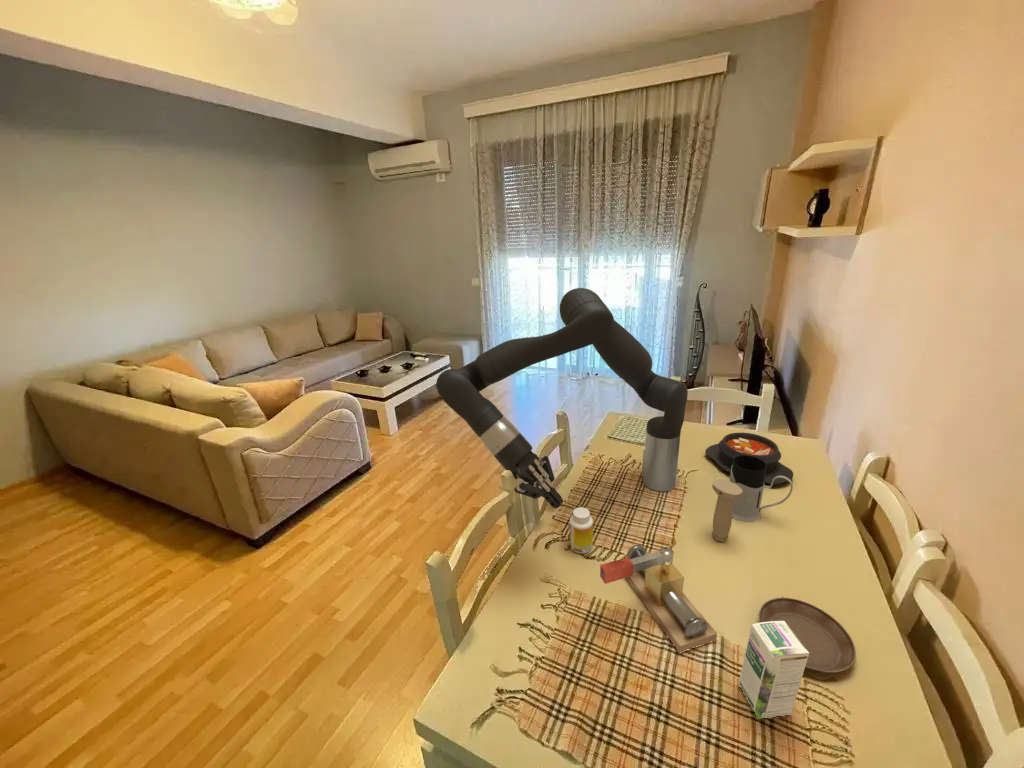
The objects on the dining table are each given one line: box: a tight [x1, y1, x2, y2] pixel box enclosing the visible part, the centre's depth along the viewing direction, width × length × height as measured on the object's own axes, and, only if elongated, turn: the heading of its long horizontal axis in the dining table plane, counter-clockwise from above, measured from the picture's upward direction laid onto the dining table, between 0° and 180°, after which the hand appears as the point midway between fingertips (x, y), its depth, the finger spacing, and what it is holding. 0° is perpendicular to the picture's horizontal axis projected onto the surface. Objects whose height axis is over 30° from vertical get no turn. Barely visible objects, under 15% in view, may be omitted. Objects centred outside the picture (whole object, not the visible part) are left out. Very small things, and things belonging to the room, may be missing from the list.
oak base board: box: [625, 551, 718, 654], centre depth 88 cm, size 22×8×2 cm, turn 16°
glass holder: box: [728, 455, 794, 523], centre depth 108 cm, size 9×14×15 cm, turn 50°
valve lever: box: [599, 546, 675, 585], centre depth 82 cm, size 15×3×3 cm, turn 106°
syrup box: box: [738, 621, 809, 720], centre depth 67 cm, size 6×6×14 cm
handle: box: [711, 478, 743, 543], centre depth 101 cm, size 5×6×15 cm
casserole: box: [705, 432, 794, 485], centre depth 130 cm, size 25×19×8 cm
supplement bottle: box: [569, 507, 594, 554], centre depth 102 cm, size 6×6×10 cm
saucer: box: [758, 597, 857, 673], centre depth 78 cm, size 15×15×3 cm
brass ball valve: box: [626, 544, 708, 639], centre depth 86 cm, size 21×5×9 cm, turn 16°
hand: (559, 505), depth 89 cm, fingers closed
